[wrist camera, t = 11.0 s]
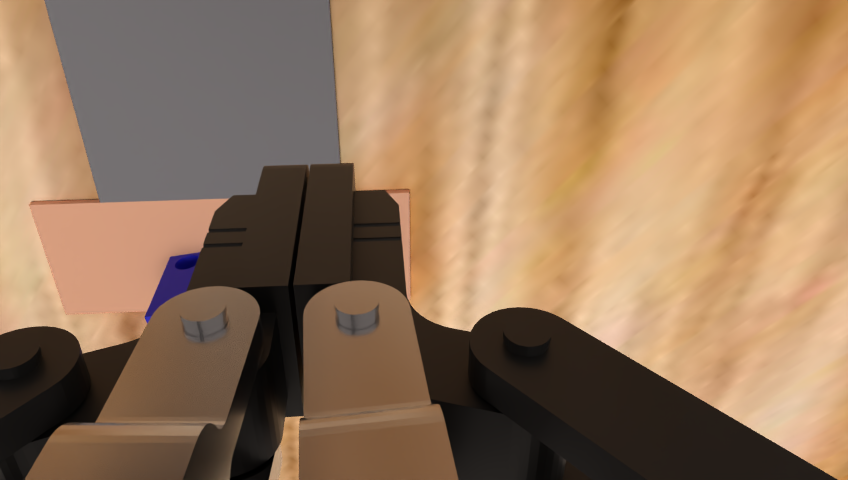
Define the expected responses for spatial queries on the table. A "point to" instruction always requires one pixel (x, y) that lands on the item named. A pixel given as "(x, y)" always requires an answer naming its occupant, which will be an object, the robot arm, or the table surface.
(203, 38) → the t mat
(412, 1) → the table surface
